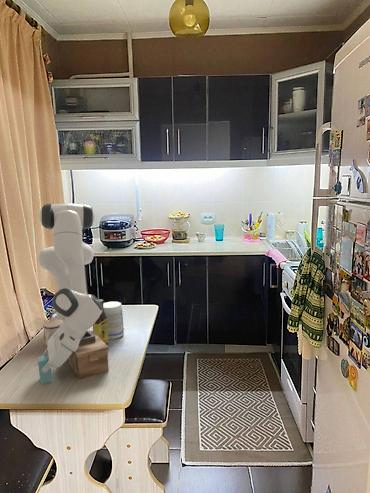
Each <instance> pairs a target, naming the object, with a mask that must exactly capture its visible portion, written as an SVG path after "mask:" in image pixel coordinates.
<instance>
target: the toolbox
mask: <svg viewBox="0 0 370 493" xmlns="http://www.w3.org/2000/svg"><path fill="white" fill-rule="evenodd" d="M109 349H110V348H109V346H108V345H106V344H105V343H104V342H103V341H102V340H101V339H100V338H99V337H98V336H97V335H96V334H95V333H94V332H93V330H89V329H88V330H87V331H86V333H85V335H84V336H83V337H82V339H81V340H80V342H79V346H78V349H77V350H76V351H75V352H73V351H72V354H71V355H70V356H69V358H68V359H67V360H66V361H67V362H68V364H69V365H70V367H71V368H72V370H73V371H74V373H75V374H76V376H77V377H78V378H79V380H80V379H85V378H88V377H92V376H94V375H98V374H101V373H104V372H106V373H107V372H108V371H109V370H110V369H109V368H110V367H109V358H108V356H109V355H108V351H109Z"/></svg>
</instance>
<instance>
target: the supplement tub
mask: <svg viewBox="0 0 370 493" xmlns="http://www.w3.org/2000/svg"><path fill="white" fill-rule="evenodd" d="M103 308H104V312H105V314H106V316H107V325H108V340H113V339H115V340H116V339H119V338H121V337H123V335H124V333H125V332H124V331H125V330H124V329H125V328H124V327H125V326H124V316H123V305H122V302H119V301H108V302H104V303H103Z"/></svg>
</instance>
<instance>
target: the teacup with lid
mask: <svg viewBox="0 0 370 493" xmlns="http://www.w3.org/2000/svg"><path fill="white" fill-rule="evenodd" d="M63 322H64V321H63V320H60V319H56V317H52V316H51V317H50V319H49V320H47V321H45V322H43V323H42V324H43V325H42V327H43V334H44V344H45V345H46V346H47V342H48V340H49V339H50V338H51V336H52V335H53V334H54V333H55V332H56V330H57V329H58V328H59V327H60V326H61V325H62V323H63Z"/></svg>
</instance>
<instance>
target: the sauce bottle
mask: <svg viewBox="0 0 370 493" xmlns="http://www.w3.org/2000/svg"><path fill="white" fill-rule="evenodd" d="M97 299H98V300H99V301H100V302H101V304H102V306H103V303H105V302H104V299H102V298H101V299H99V298H97ZM92 331H93V332H94V333H95V334H96V335H97V336H98V337H99V338H100V339H101V340H102V341H103V342H104V343H105V344H106V345H107V346H108V345H109V339H108V325H107V316H106V314H105V312H104V308H103V311H102V313H101V315H100V316H99V318H98V319H97V321H96V322H95V323H94V324H93V326H92Z"/></svg>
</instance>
